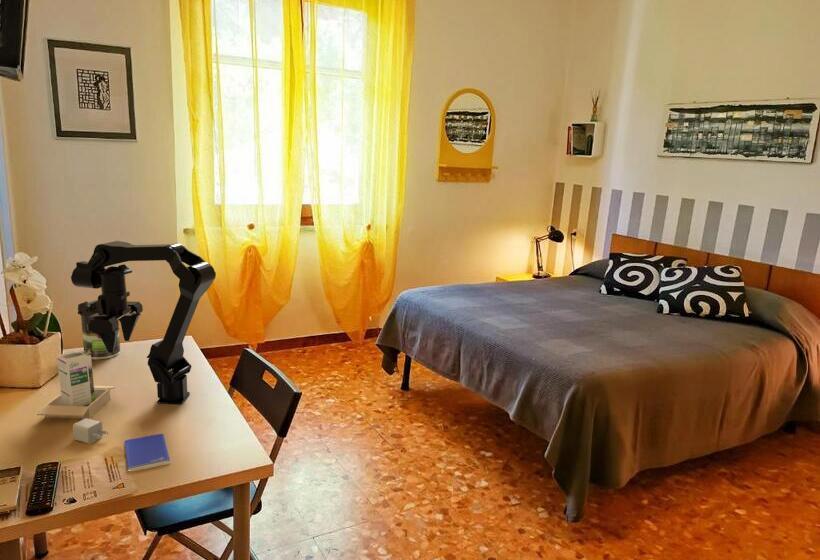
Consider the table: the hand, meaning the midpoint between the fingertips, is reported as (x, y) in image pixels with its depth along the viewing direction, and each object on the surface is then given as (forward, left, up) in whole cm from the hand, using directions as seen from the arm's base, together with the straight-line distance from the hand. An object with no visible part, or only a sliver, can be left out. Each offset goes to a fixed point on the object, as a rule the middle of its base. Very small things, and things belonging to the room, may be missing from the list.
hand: (119, 346), depth 150 cm
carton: (+6, +11, -13) cm, 18 cm away
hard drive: (-19, +31, -13) cm, 39 cm away
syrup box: (+6, +11, -13) cm, 18 cm away
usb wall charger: (-5, +26, -13) cm, 29 cm away
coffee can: (+18, -26, -13) cm, 34 cm away
